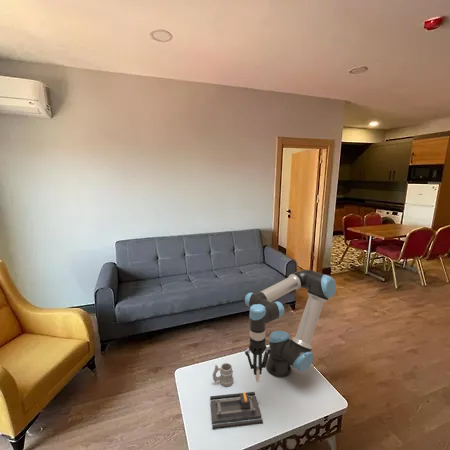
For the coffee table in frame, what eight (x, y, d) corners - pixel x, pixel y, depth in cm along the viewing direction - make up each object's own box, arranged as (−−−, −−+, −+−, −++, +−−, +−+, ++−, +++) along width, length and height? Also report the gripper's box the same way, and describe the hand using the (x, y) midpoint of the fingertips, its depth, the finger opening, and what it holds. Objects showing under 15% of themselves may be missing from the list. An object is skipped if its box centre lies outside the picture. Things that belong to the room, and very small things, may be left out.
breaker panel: (255, 398, 137) (255, 393, 137) (261, 418, 126) (261, 413, 125) (210, 403, 135) (210, 397, 134) (212, 424, 123) (212, 418, 122)
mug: (234, 386, 146) (234, 367, 144) (213, 389, 143) (213, 370, 141) (231, 376, 153) (231, 357, 151) (211, 379, 151) (211, 360, 149)
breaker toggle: (247, 402, 133) (247, 391, 132) (249, 410, 128) (250, 400, 127) (240, 403, 133) (240, 392, 132) (242, 411, 128) (242, 400, 127)
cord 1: (254, 393, 140) (254, 391, 140) (254, 395, 139) (255, 393, 139) (210, 398, 138) (210, 396, 137) (210, 400, 136) (210, 398, 136)
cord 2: (262, 421, 124) (262, 419, 124) (263, 423, 123) (263, 421, 123) (212, 427, 121) (212, 424, 121) (212, 429, 120) (212, 427, 120)
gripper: (268, 331, 129) (268, 373, 133) (242, 333, 128) (243, 375, 132) (272, 340, 122) (272, 384, 126) (245, 342, 121) (246, 387, 125)
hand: (257, 379), depth 129 cm, fingers closed
